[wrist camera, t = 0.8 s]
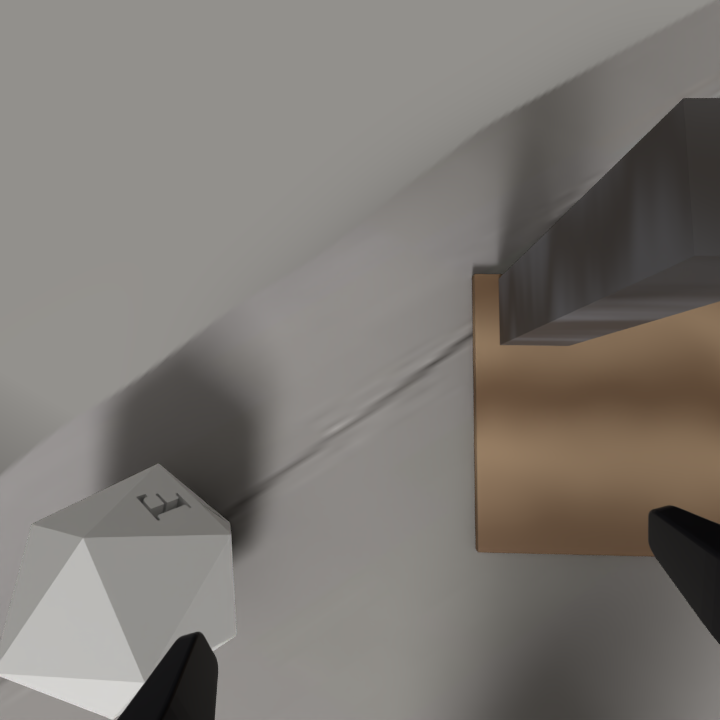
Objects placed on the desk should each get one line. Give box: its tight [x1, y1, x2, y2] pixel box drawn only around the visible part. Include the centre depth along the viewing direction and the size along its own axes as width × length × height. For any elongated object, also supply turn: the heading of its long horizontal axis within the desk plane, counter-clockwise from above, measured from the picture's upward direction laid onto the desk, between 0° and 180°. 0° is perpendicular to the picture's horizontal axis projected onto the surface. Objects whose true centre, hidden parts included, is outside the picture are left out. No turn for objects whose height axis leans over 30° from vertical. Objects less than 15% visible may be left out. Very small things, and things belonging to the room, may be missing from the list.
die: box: [0, 463, 237, 720], centre depth 18 cm, size 8×9×10 cm
